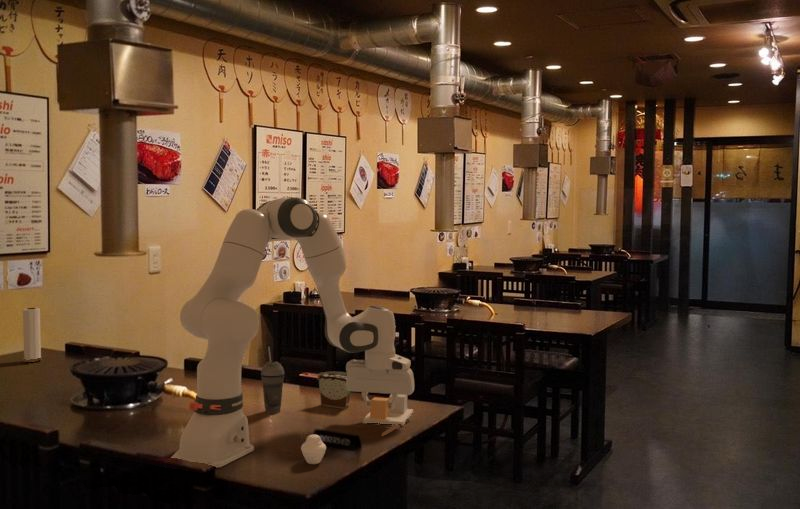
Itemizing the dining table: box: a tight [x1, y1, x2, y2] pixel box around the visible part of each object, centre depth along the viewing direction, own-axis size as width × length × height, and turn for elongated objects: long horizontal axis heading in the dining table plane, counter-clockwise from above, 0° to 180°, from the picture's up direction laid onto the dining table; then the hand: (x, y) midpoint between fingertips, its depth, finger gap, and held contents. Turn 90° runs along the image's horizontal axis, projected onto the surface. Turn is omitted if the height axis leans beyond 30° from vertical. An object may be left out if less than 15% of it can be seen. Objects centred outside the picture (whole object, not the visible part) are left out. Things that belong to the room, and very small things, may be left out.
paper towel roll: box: [22, 307, 42, 360], centre depth 299 cm, size 7×6×21 cm
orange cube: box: [369, 396, 389, 419], centre depth 222 cm, size 5×5×5 cm
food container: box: [316, 371, 351, 410], centre depth 240 cm, size 12×6×10 cm, turn 63°
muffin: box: [300, 433, 327, 465], centre depth 186 cm, size 6×6×7 cm
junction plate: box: [362, 394, 414, 426], centre depth 225 cm, size 14×12×6 cm
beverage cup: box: [260, 346, 286, 415], centre depth 230 cm, size 7×7×20 cm
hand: (379, 407), depth 222 cm, fingers open, 5 cm apart
